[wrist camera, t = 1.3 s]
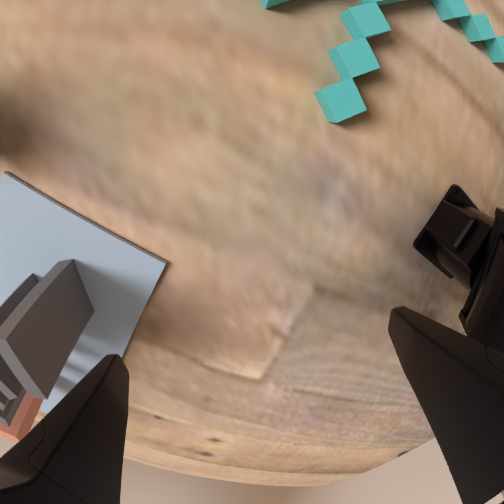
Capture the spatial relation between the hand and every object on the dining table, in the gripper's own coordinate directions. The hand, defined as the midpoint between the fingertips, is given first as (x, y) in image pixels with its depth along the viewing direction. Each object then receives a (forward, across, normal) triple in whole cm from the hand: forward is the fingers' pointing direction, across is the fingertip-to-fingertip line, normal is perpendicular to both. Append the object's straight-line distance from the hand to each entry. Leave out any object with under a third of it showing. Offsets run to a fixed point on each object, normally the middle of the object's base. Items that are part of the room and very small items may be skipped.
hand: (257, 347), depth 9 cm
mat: (+14, +22, +10) cm, 28 cm away
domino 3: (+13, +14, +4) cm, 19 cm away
